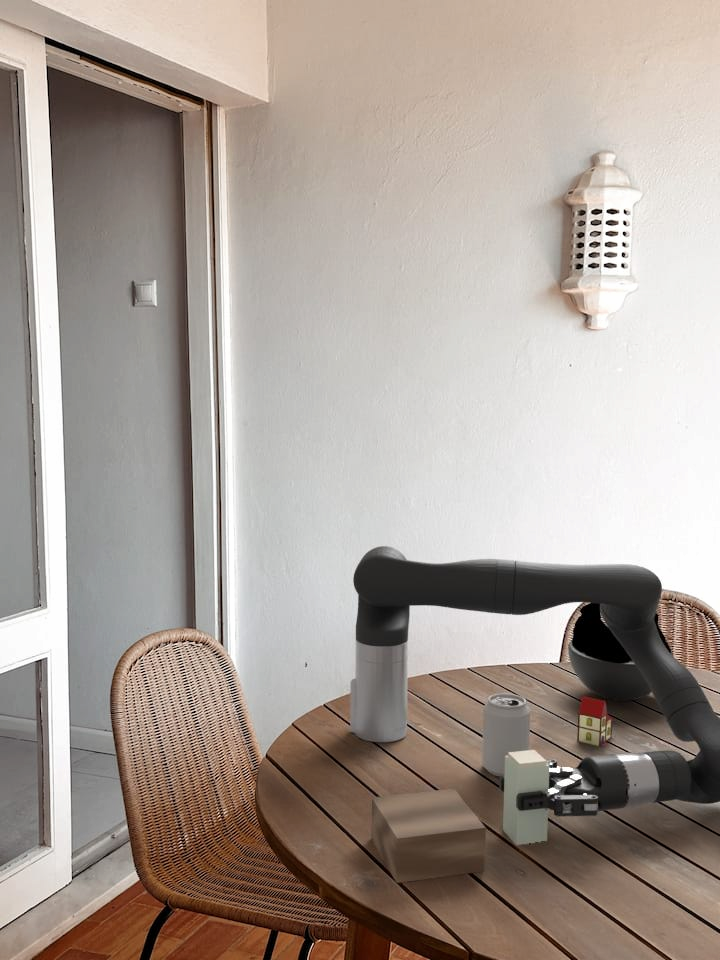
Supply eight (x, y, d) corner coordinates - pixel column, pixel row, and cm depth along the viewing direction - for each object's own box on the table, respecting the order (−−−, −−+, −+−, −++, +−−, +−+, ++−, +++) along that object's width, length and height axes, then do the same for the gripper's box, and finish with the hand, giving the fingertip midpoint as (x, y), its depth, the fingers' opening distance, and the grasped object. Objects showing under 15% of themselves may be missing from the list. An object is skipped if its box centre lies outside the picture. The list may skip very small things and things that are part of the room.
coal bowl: (684, 717, 185) (689, 619, 183) (577, 715, 185) (581, 617, 183) (654, 681, 205) (658, 593, 203) (557, 680, 205) (561, 592, 203)
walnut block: (371, 838, 138) (371, 797, 137) (452, 828, 141) (453, 788, 140) (396, 882, 126) (397, 838, 125) (484, 871, 129) (485, 827, 128)
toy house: (576, 746, 172) (578, 701, 171) (578, 732, 178) (580, 689, 177) (610, 750, 170) (612, 704, 169) (611, 736, 177) (613, 692, 176)
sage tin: (503, 829, 141) (505, 751, 139) (532, 826, 142) (535, 748, 140) (516, 845, 136) (518, 764, 135) (546, 841, 137) (549, 761, 136)
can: (527, 781, 157) (529, 708, 155) (480, 777, 158) (481, 704, 157) (529, 762, 164) (531, 692, 162) (483, 758, 165) (485, 689, 164)
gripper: (594, 737, 148) (489, 747, 144) (646, 776, 134) (531, 789, 130) (592, 784, 149) (488, 796, 145) (643, 828, 135) (529, 843, 131)
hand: (509, 793), depth 137 cm, fingers open, 5 cm apart
